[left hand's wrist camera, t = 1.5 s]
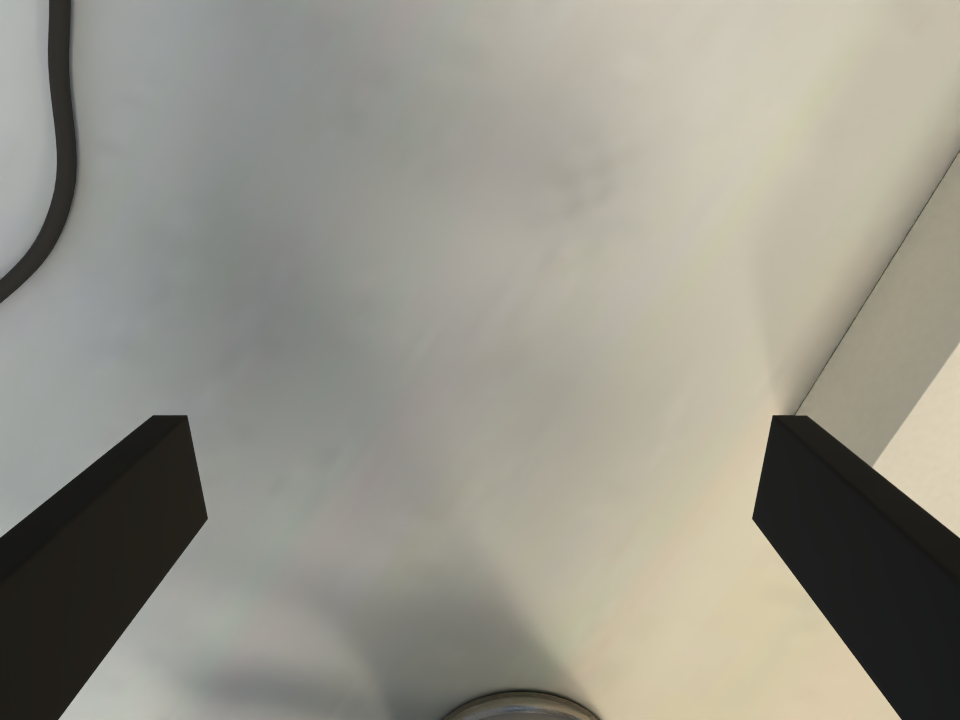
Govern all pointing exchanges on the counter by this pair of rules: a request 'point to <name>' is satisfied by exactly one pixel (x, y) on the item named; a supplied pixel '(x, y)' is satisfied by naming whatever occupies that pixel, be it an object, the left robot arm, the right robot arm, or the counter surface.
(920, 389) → the wide beam
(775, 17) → the counter surface
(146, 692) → the counter surface
